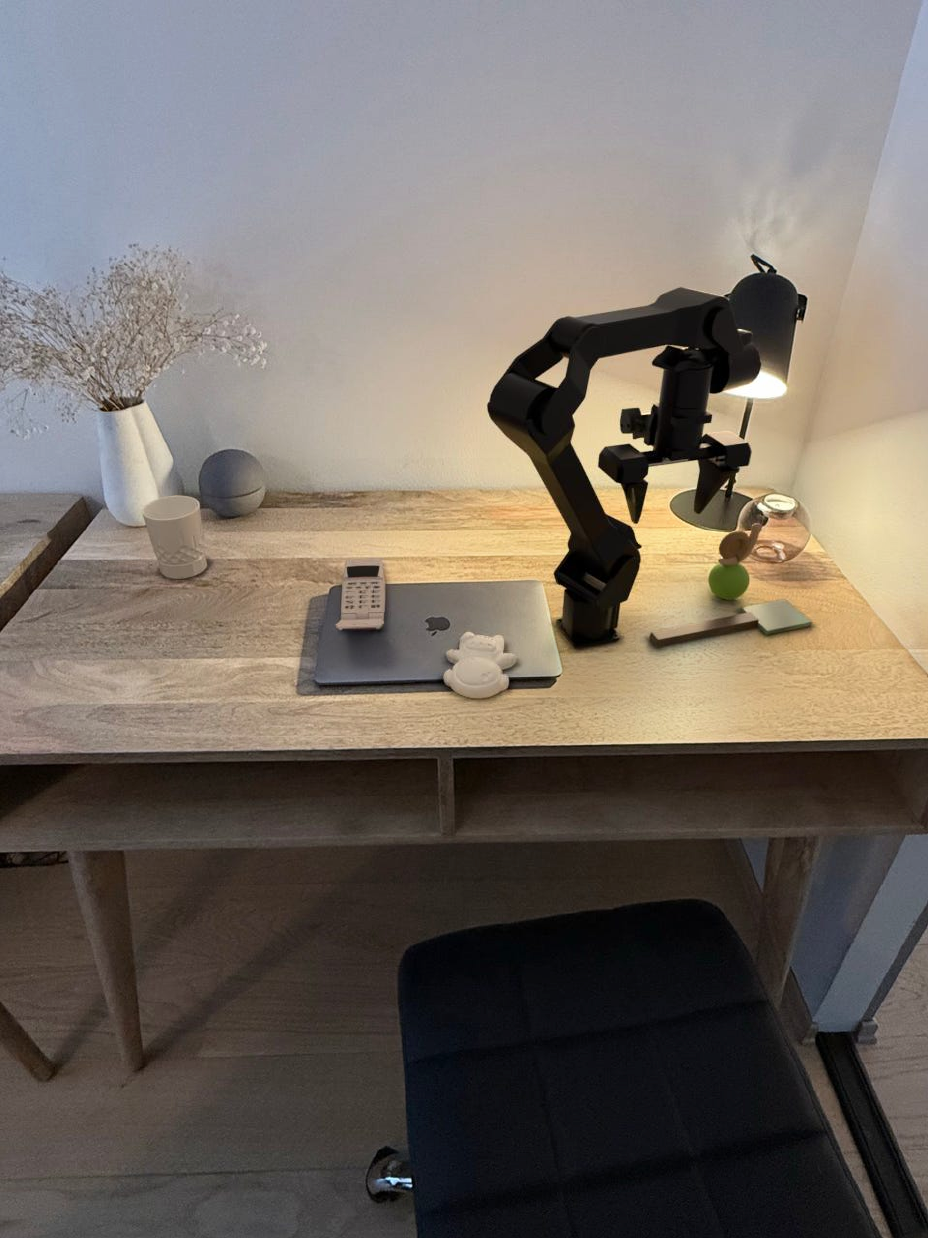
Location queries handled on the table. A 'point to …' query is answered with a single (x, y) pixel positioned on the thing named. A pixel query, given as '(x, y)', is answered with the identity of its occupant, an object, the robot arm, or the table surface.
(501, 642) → the white animal figurine
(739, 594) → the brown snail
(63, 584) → the table surface
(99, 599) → the table surface
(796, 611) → the spatula
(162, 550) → the white cup
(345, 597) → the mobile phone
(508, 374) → the robot arm
